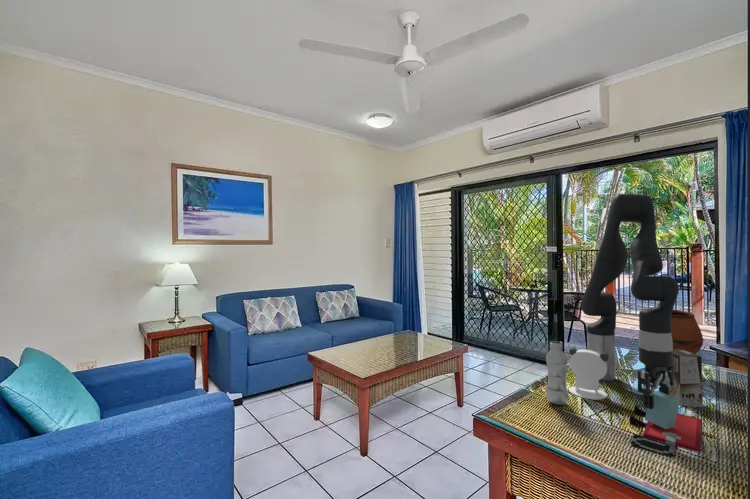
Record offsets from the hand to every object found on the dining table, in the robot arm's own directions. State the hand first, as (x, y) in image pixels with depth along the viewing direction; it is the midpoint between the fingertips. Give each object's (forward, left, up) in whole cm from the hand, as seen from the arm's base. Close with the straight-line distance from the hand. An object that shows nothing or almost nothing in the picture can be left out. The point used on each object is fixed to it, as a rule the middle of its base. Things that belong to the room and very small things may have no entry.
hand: (656, 404), depth 99 cm
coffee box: (-5, +28, -7) cm, 29 cm away
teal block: (0, 0, -5) cm, 5 cm away
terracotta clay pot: (-19, +55, -7) cm, 59 cm away
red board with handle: (+2, 0, -8) cm, 8 cm away
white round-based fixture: (-24, +8, -7) cm, 26 cm away
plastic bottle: (-24, -9, -7) cm, 27 cm away
